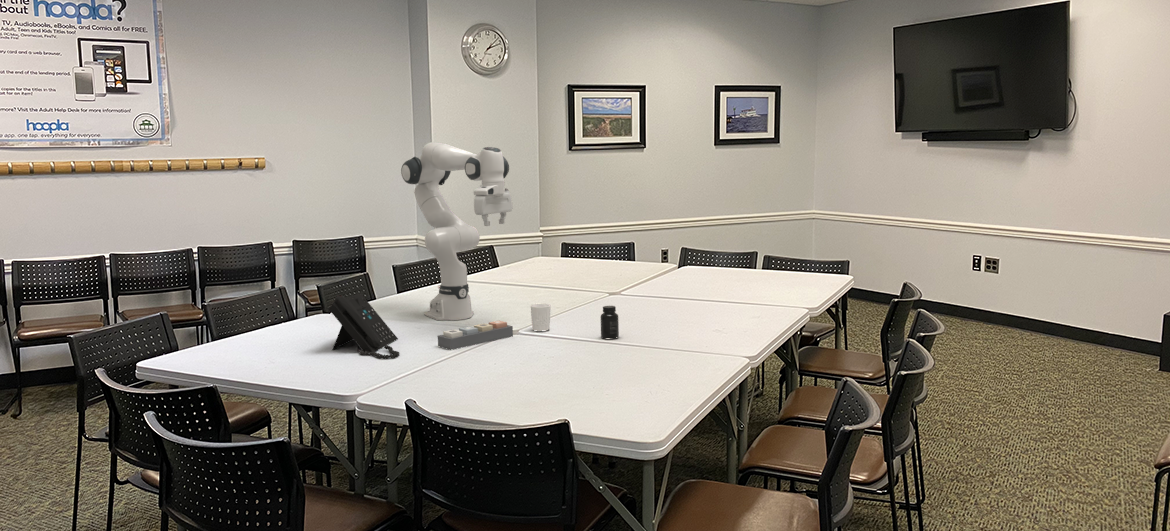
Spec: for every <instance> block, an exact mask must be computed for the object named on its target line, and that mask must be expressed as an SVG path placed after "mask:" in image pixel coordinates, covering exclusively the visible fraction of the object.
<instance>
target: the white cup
mask: <svg viewBox="0 0 1170 531" xmlns="http://www.w3.org/2000/svg"><path fill="white" fill-rule="evenodd" d="M551 308H552V307H551V304H549V303H533V304H531V305H530V316H531V318H530V319H531V325H532V331H533V330H537V331H542V330H548V329H549V328H550V326H551ZM550 329H551V328H550ZM550 329H549V330H550Z"/></svg>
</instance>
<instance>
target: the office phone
mask: <svg viewBox="0 0 1170 531" xmlns="http://www.w3.org/2000/svg"><path fill="white" fill-rule="evenodd" d="M328 310H329V311H330V313H331V315H332V316H334V317H335V318H336V320H337V321H338V322H339V323H340V325H341V327H340V330H339V332H338V334H337V338H336V340H335V341H334V345H333V347H332V350H331V351H333V350H335V349H337V348H339V347H341V346H343V345H345V344H347V343H350V342H352V341H354V342H355V343H356V344H357V346H358V348H357V350H356V352H357V353H359V354H360V355H361V356H367V355H368V356H370V355H372V357H375V356H376V357H375V358H377V359H380V358H383V359H382V360H389V359H388V358H392V359H396V358H395V357H397V358H399V356H400V351H398V350H394V348H393V347H392V346H391V345H389V344H391V343H393V342H395V341H397V340H398V339H399V338H398V337H397V336H396V334H395V332H393V331H392V330H391V328H390V327H389V326H388V324H387V323H386V322H385V321H384V320H383V319H382V317H381V316H380V315H379V314H378V312H377V311H376V310H375V309H374V308H373V306H372V304H370V303H369V301H368V300H367V299H366V298H365V297H364V295H363V294H362V293H361V292H359V293H357V294H354V295H352V296H348V297H345V296H343V295H336V297H335V298H334V301H333V302H332V305H331V306H330V307H329V308H328ZM396 339H397V340H396ZM394 340H395V341H394ZM387 344H388V345H387ZM359 348H360V349H361V350H360V349H359ZM378 349H379V350H381V349H382V350H383V349H384V350H386V351H388V352H389V354H381V353H377V352H378ZM375 351H376V352H375ZM385 358H386V359H385Z"/></svg>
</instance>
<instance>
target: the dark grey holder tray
mask: <svg viewBox="0 0 1170 531" xmlns="http://www.w3.org/2000/svg"><path fill="white" fill-rule="evenodd" d="M513 329H514V328H513V325H510V324H507V327H503V328H498V329H496V328H493V330H488V331H483V332H481V331H478V333H474V334H469V335H465V334H463V336H460V337H455V338H448V337H445V336H443V334H440V335H437V346H440V347H439V348H442V347H443V348H442V349H446V348H447V349H446V350H449V349H450V350H449V351H452V350H451V349H453V350H457V348H458V349H461V347H462V348H465V347H466V346H467V347H471V346H475V344H476V345H480V344H484V343H488V342H493V341H498V340H503V339H506V338H507V339H508V338H511V336H512V337H513V336H514V332H513V331H514V330H513Z"/></svg>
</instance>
